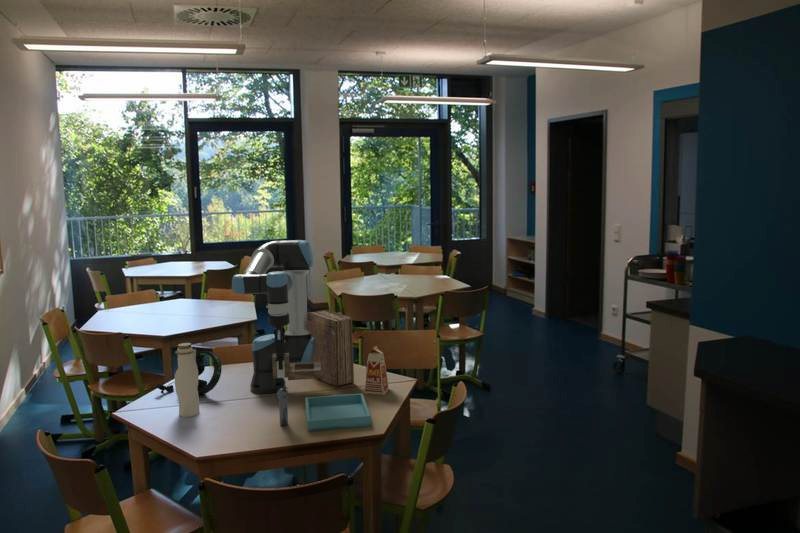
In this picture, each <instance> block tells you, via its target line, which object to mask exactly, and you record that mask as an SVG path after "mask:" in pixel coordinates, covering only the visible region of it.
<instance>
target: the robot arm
mask: <svg viewBox="0 0 800 533" xmlns="http://www.w3.org/2000/svg"><path fill="white" fill-rule="evenodd" d="M313 257H314V256H313V251H312V246H311V243H310V242H309V241H308V240H306V239H305V240H304V239H303V240H302V239H294V240H292V239H289V240H288V239H286V240H272V241H267V242H265V243H263V244H262V245H260V246H258V247H257V248H256V249H255V250H254V251H253V253H252V255H251V261H250V262H249V264H248V265H247V266H246V269H245V270H244V272H243V273H242V274H241V273H240V274H233V276H232V279H231V288H232V292H233V294H234V295H242V296H243V295H259V294H260V295H261V294H262V295H263V294H264V295H265V294H266V296H267V305H266V306H265V307H266V309H267V313H268V316H267V317H268V318H267V319H268V324H269V326H271V327H275V328H274V329H273V333H272V334H271V333H270V334H266V335H261V336H258V337H256V338H254V339H253V341H252V345H251V346H252V349H251V351H252V364H253V375H252V377H251V381H250V384H249V386H250V392H253V393H255V394H273V393H277V392H278V390H279V389H281V388H285V389H286V379H285V365H284V353H289V362H290V363H299V362H312V359H313V355H314V347H315V338H314V337H311V332H310V331H309V330H308V328H307V312H308V295H307V294H308V293H307V289H308V288H307V284H308V283H307V275H308V273H309V272H310V270H311V269H310V268H311V267H313V266H314V258H313ZM271 268H282V270H281V271H279V270H277V271H270V272H268V273H267V271H268V270H269V269H271ZM285 326H287V331H286V328H285ZM273 354H276V357H277V358H276V360H275V361H277V377H278V378H273V365H272V355H273Z"/></svg>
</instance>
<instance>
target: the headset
mask: <svg viewBox="0 0 800 533" xmlns="http://www.w3.org/2000/svg"><path fill="white" fill-rule="evenodd" d="M206 356H209V357H210V358H211V360H212V366H213V374H212V376H211V378H210V380H209V382H208V381H207V380H204V379H199V378H198V388H197V390H198V396H199V395H202V394H208V393H209V392H211V391H212V390H213V389H214V388H216V385H217V384H218V383H219V381H220V379H221V377H222V367H223V366H222V362H221V358H220V357H219V355H217V354H216V353H214V352H211V351H208V350H202V351H198V352H197V351H196V365H197V368H198V377H199V376H201V375H202V374H203V373H204V371H205V368H206V367H205V364H204V362H203V357H206ZM173 384H175V381H173V382H171V383H169V384H168V385H166V386H165V385H164V384H162V383H157V384H155V387H156V388H157V389H158V390H160V393H161V394H162V395H166V393H164V391H166V392H167V393H168V392H173V391H174V390H175V389H174V388H175V387H174V385H173Z"/></svg>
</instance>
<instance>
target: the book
mask: <svg viewBox="0 0 800 533" xmlns="http://www.w3.org/2000/svg"><path fill="white" fill-rule="evenodd" d="M307 328H308V330H309V331H310V332H311V337H314V338H315V347H314V355H313V359H312V362H316V361H320V365H321V378H317V380H320V381H321V382H323V383H326V384H328V385H330V386H331V387H334V388H336V389H337V388H338V386H344V385H347V384H354V383H355V372H354V371H355V370H354V347H353V346H354V343H353V342H354V341H353V337H354V336H353V318H352V317H351V316H348V315H346V314H341V313H338V312H335V311H333V310H330V309H329V310H328V309H325V308H324V309H316V310H310V311H307Z"/></svg>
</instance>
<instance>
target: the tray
mask: <svg viewBox="0 0 800 533" xmlns="http://www.w3.org/2000/svg"><path fill="white" fill-rule="evenodd" d="M304 400H305V414H306V427H307V432H308V433H309V432H319V431H320V432H321V431H322V432H323V431H332V430H344V429H354V428H356V429H357V428H366V427H367V428H368V427H372V425H371V424H372V422H371V420H372V417H371V413H370V411H369V407H368V405H367V403H366V400H365V396H364V392H363V393H348V394H337V395H336V394H335V395H325V396H323V395H321V396H311V397H305V398H304Z"/></svg>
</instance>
